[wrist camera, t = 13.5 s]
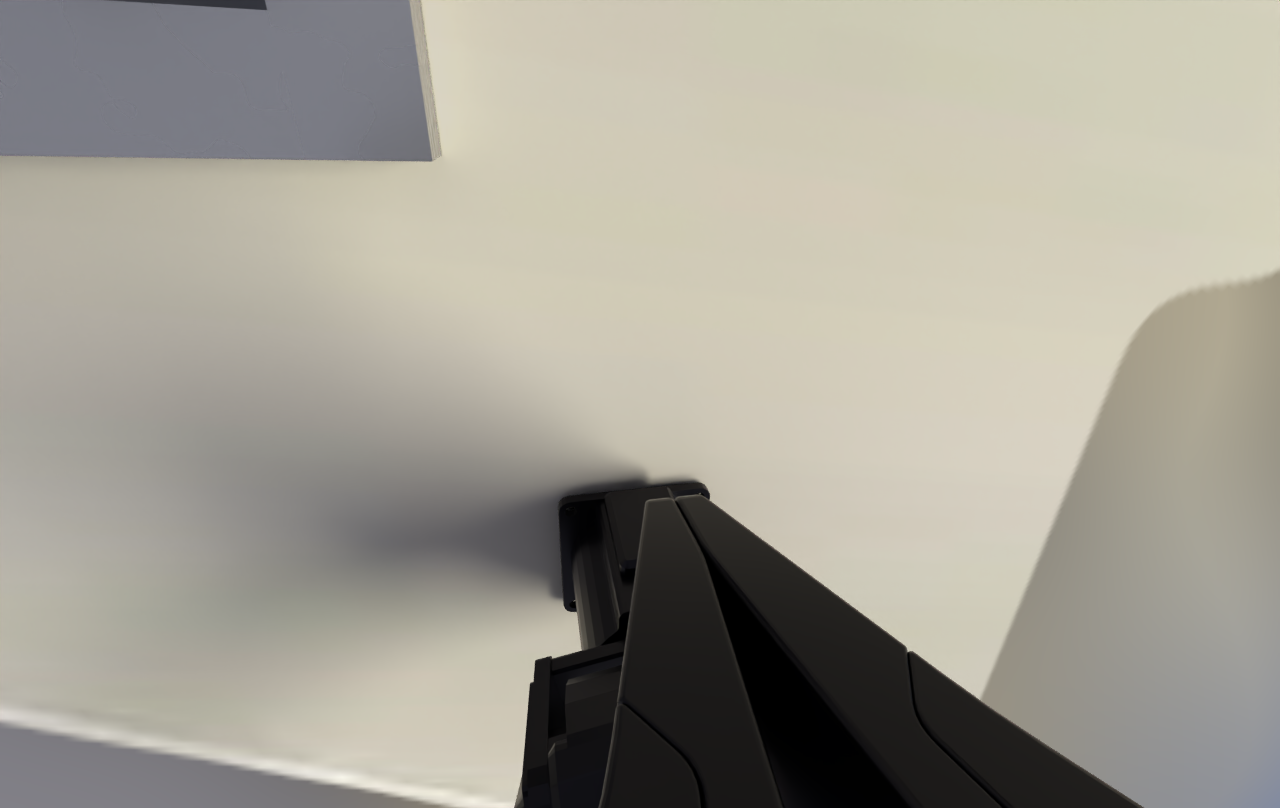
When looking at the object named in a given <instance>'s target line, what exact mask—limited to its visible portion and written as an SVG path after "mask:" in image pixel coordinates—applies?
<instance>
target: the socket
mask: <svg viewBox="0 0 1280 808" xmlns="http://www.w3.org/2000/svg"><path fill="white" fill-rule="evenodd" d="M0 155H2V156H74V157H146V158H218V159H291V160H363V161H434V160H435V159H437V158H438V157H440V156H441V148H440V141H439V133H438V126H437V119H436V111H435V104H434V97H433V89H432V82H431V75H430V67H429V60H428V53H427V45H426V38H425V31H424V23H423V16H422V9H421V1H420V0H0Z"/></svg>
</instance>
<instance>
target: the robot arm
mask: <svg viewBox="0 0 1280 808" xmlns="http://www.w3.org/2000/svg"><path fill="white" fill-rule="evenodd" d="M697 493H701V494H700V495H696V494H697ZM568 507H575V508H574V509H573V510H566V509H567V508H568ZM558 515H559V532H560V550H561V567H562V585H563V601H564V607H565V609H566V610H567V611H570V612H577V616H578V624H579V632H580V640H581V648H582V651H579V652H575V653H571V654H568V655H564V656H560V657H557V658H553V659H552V657H551V656H549V657H546V658H542V659H538V660H535V671H534V682H532V683H530V691H529V702H528V714H527V726H526V738H525V749H524V761H523V773H522V778H521V782H520V786H519V791H518V795H517V799H516V803H515V807H514V808H1144V807H1142V806H1141V805H1139V804H1138V803H1136V802H1134V801H1133V800H1131V799H1130V798H1128V797H1127V796H1125V795H1124V794H1122V793H1120V792H1119V791H1117V790H1116V789H1114V788H1113V787H1111V786H1110V785H1108V784H1106V783H1105V782H1103V781H1102V780H1100V779H1099V778H1097V777H1096V776H1094V775H1092V774H1091V773H1089V772H1088V771H1086V770H1084V769H1083V768H1082V767H1080V766H1078V765H1077V764H1075V763H1074V762H1072V761H1071V760H1069V759H1068V758H1066V757H1064V756H1063V755H1061V754H1060V753H1058V752H1057V751H1055V750H1053V749H1052V748H1050V747H1049V746H1047V745H1046V744H1044V743H1043V742H1041V741H1040V740H1038V739H1037V738H1035V737H1034V736H1032V735H1031V734H1029V733H1028V732H1026V731H1025V730H1023V729H1021V728H1020V727H1019V726H1017V725H1016V724H1014V723H1013V722H1011V721H1010V720H1008V719H1007V718H1005V717H1004V716H1002V715H1001V714H999V713H998V712H996V711H995V710H993V709H992V708H990V707H989V706H987V705H986V704H985V703H983V702H982V701H981V700H979V699H978V698H976V697H975V696H974V695H972V694H971V693H969V692H968V691H967V690H965V689H964V688H962V687H961V686H960V685H958V684H957V683H955V682H954V681H953V680H951V679H950V678H948V677H947V676H946V675H944V674H943V673H941V672H940V671H939V670H937V669H936V668H935V667H933V666H932V665H931V664H929V663H928V662H927V661H925V660H924V659H923V658H921V657H920V656H919V655H917V654H916V653H914V652H913V651H910V652H907V648H906V646H905V645H903V644H902V643H901V642H899V641H898V640H897V639H895V638H894V637H893V636H891V635H890V634H889V633H887V632H886V631H885V630H883V629H882V628H881V627H879V626H878V625H876V624H875V623H874V622H872V621H871V620H870V619H868V618H867V617H866V616H864V615H863V614H862V613H860V612H859V611H858V610H856V609H855V608H854V607H852V606H851V605H850V604H848V603H847V602H846V601H844V600H843V599H842V598H840V597H839V596H837V595H836V594H835V593H833V592H832V591H831V590H829V589H828V588H827V587H825V586H824V585H823V584H821V583H820V582H819V581H817V580H816V579H815V578H813V577H812V576H811V575H809V574H808V573H807V572H805V571H804V570H803V569H801V568H800V567H798V566H797V565H796V564H794V563H793V562H792V561H790V560H789V559H788V558H786V557H785V556H784V555H782V554H781V553H780V552H778V551H777V550H776V549H774V548H773V547H772V546H770V545H769V544H768V543H766V542H765V541H764V540H762V539H761V538H759V537H758V536H757V535H755V534H754V533H753V532H751V531H750V530H749V529H747V528H746V527H745V526H743V525H742V524H741V523H739V522H738V521H737V520H735V519H734V518H733V517H731V516H730V515H729V514H727V513H726V512H725V511H723V510H722V509H720V508H719V507H718V506H716V505H715V504H714V503H712V502H711V501H710V493H709V491H708V489H707V487H706V486H705V485H704V484H702V483H690V484H680V485H670V486H661V487H651V488H642V489H632V490H623V491H613V492H603V493H594V494H584V495H575V496H568V497H565V498H563V499H562V500H561V501H560V502H559V504H558ZM574 600H576V601H574Z"/></svg>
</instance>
